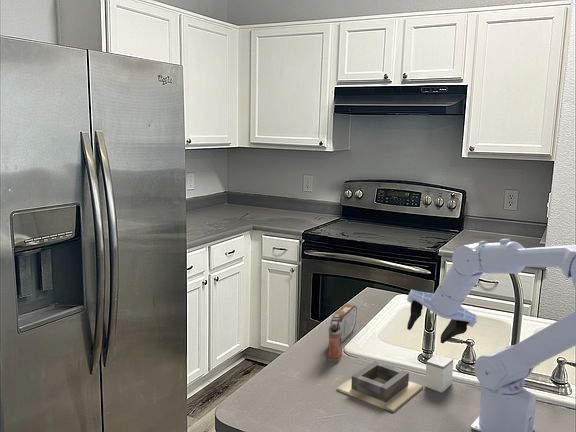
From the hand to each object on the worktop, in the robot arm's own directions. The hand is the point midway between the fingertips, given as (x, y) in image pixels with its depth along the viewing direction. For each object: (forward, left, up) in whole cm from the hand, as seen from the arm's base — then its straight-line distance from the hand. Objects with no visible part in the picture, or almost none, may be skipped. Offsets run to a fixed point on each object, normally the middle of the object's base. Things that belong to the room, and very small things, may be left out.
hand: (425, 333), depth 118 cm
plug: (-3, -2, -12) cm, 13 cm away
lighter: (+23, +1, -12) cm, 26 cm away
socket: (+6, +8, -12) cm, 16 cm away
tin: (+28, -9, -12) cm, 32 cm away
